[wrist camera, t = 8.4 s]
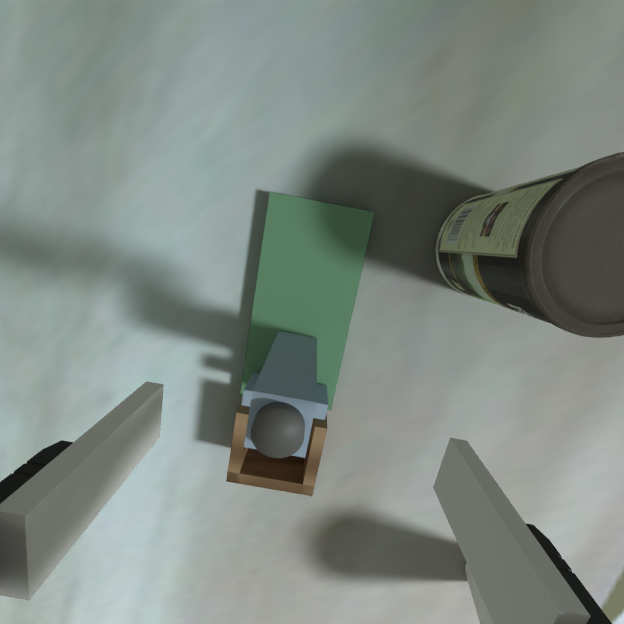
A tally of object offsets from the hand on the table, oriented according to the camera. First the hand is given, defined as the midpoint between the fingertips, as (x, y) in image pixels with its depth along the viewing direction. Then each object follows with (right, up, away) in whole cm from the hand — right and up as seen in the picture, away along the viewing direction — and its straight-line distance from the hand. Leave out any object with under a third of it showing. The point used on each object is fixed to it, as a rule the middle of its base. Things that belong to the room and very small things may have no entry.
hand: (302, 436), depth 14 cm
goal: (-3, -8, +22) cm, 23 cm away
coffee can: (+18, +12, +17) cm, 28 cm away
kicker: (-2, 0, +18) cm, 18 cm away
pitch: (0, +6, +19) cm, 20 cm away
